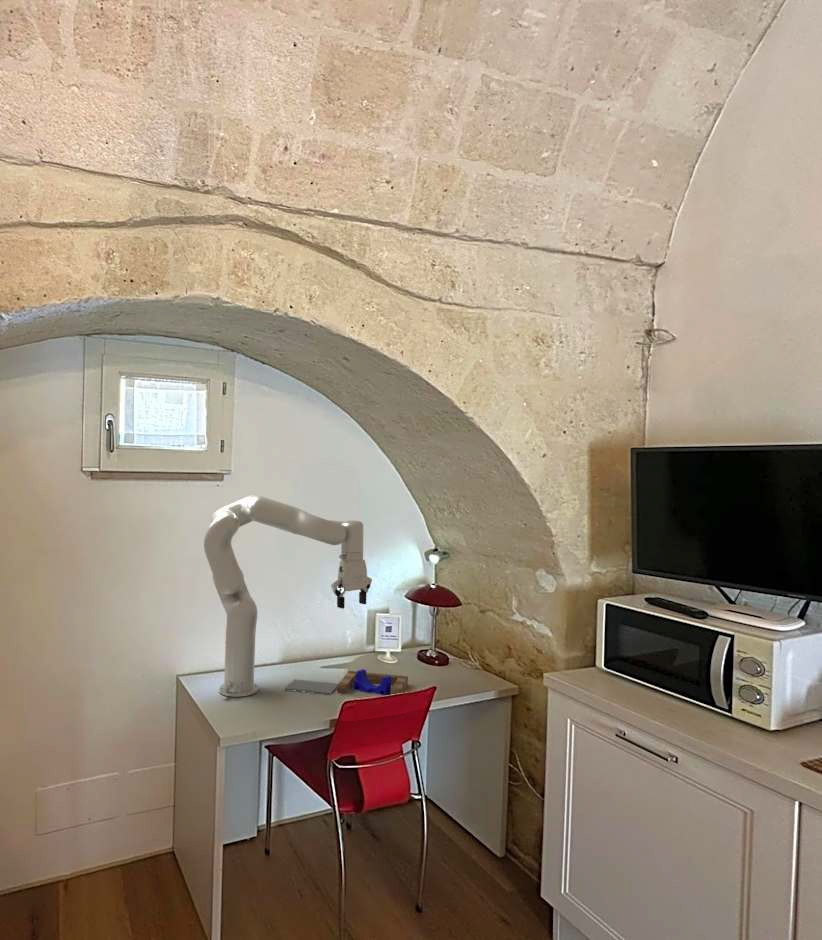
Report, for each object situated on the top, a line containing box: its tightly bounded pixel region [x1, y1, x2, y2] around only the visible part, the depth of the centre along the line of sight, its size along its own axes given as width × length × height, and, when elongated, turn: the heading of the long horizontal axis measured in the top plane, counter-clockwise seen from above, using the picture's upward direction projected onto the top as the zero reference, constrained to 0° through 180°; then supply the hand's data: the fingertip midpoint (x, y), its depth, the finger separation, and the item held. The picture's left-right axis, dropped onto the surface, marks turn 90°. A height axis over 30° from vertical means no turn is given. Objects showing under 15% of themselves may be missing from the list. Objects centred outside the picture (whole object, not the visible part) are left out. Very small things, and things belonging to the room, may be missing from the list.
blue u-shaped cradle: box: [353, 668, 392, 696], centre depth 245 cm, size 12×4×6 cm, turn 57°
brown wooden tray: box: [336, 670, 409, 695], centre depth 247 cm, size 16×21×3 cm
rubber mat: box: [284, 679, 338, 695], centre depth 246 cm, size 10×16×1 cm, turn 80°
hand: (351, 605), depth 252 cm, fingers open, 9 cm apart
